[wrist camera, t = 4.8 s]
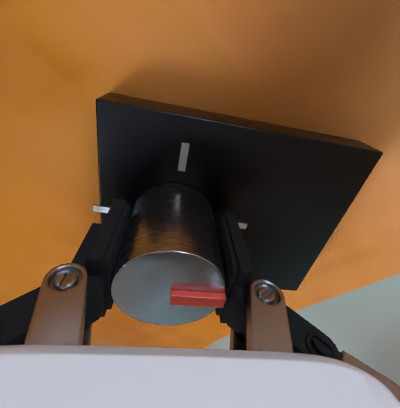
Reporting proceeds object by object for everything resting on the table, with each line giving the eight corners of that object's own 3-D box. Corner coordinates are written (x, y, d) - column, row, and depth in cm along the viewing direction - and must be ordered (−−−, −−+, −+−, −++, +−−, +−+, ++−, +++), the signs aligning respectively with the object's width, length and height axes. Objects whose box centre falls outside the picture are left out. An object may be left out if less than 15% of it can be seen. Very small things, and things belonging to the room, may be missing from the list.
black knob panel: (106, 254, 17) (97, 277, 15) (101, 90, 11) (86, 97, 10) (286, 270, 19) (297, 292, 17) (359, 140, 14) (386, 153, 12)
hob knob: (132, 242, 14) (108, 330, 9) (135, 176, 12) (105, 252, 7) (204, 249, 15) (213, 334, 10) (220, 188, 12) (241, 264, 8)
